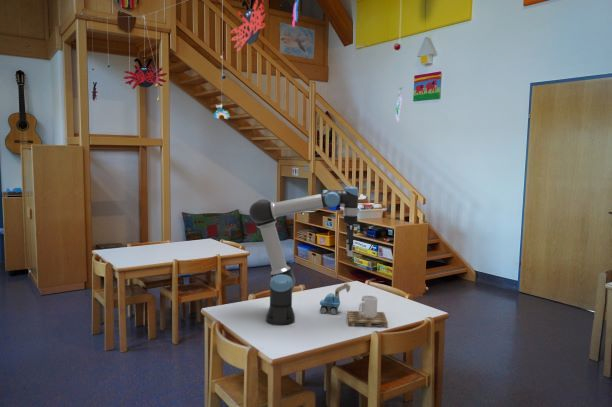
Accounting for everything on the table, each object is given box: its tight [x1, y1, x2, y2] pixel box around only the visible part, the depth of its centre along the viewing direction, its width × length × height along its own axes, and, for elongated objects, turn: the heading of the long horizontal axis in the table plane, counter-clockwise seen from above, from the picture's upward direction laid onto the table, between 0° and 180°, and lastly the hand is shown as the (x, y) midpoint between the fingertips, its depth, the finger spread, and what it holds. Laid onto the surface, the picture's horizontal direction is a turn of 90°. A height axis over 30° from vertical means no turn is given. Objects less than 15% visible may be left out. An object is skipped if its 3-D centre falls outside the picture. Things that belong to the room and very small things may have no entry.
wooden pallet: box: [346, 310, 389, 329], centre depth 263 cm, size 20×16×3 cm
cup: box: [358, 294, 378, 318], centre depth 262 cm, size 8×12×10 cm
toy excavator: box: [319, 282, 351, 315], centre depth 277 cm, size 9×17×17 cm, turn 78°
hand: (349, 253), depth 269 cm, fingers open, 13 cm apart
